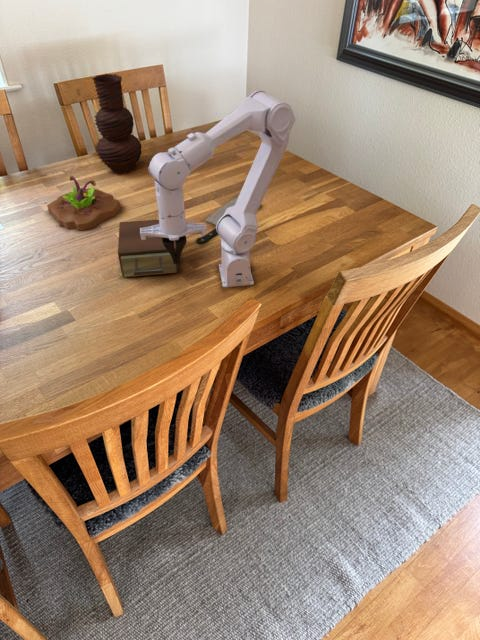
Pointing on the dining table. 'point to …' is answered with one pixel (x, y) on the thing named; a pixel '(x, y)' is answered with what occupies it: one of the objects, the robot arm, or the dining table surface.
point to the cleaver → (216, 220)
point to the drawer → (148, 264)
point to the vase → (115, 126)
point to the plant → (83, 207)
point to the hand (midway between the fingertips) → (176, 261)
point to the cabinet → (138, 240)
